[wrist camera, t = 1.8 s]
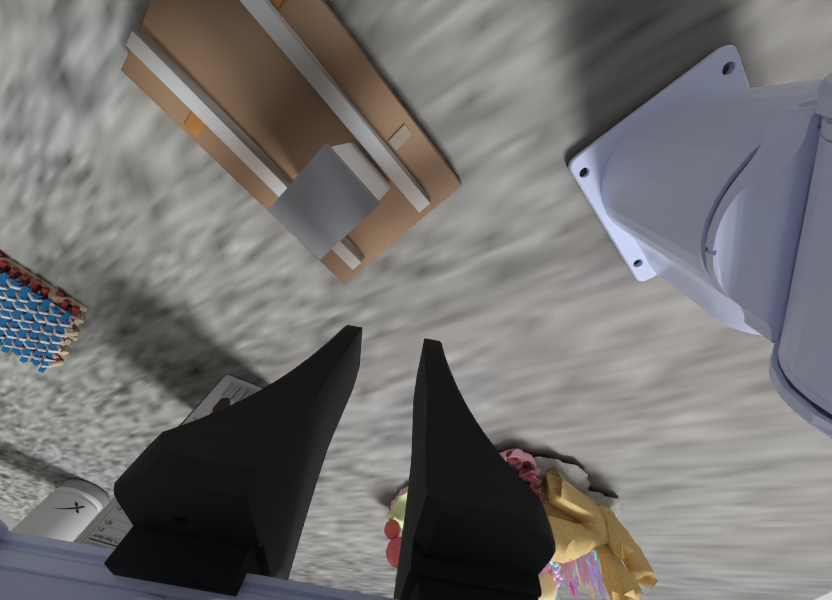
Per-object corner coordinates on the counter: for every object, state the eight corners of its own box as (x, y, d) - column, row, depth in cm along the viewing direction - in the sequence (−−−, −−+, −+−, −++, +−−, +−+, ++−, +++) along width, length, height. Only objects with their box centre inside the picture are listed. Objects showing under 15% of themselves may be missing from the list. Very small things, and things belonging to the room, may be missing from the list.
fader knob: (394, 187, 17) (378, 204, 14) (345, 233, 19) (319, 260, 15) (353, 138, 16) (324, 143, 13) (305, 191, 18) (267, 210, 14)
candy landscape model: (475, 410, 29) (484, 520, 21) (664, 497, 33) (733, 619, 25) (370, 517, 41) (350, 613, 33) (516, 572, 45) (531, 670, 37)
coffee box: (271, 446, 34) (149, 665, 21) (214, 425, 34) (47, 640, 20) (289, 396, 30) (149, 634, 16) (224, 371, 29) (16, 599, 15)
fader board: (460, 180, 19) (461, 188, 16) (350, 274, 23) (339, 290, 20) (237, -115, 13) (196, -160, 11) (145, 73, 17) (102, 67, 15)
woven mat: (99, 305, 27) (75, 318, 26) (69, 364, 32) (47, 378, 30) (-35, 219, 24) (-73, 227, 22) (-48, 297, 29) (-80, 309, 27)
